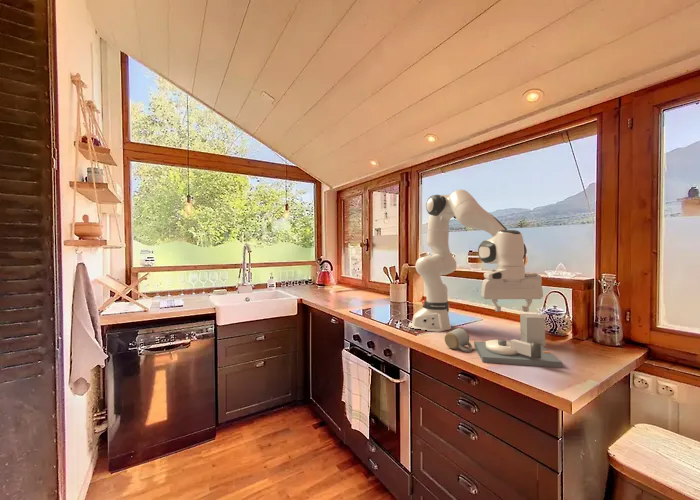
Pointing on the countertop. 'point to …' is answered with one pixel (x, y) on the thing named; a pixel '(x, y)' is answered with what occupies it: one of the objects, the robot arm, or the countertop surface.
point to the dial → (514, 347)
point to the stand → (517, 357)
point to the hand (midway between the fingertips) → (511, 311)
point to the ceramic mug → (458, 339)
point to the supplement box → (532, 328)
